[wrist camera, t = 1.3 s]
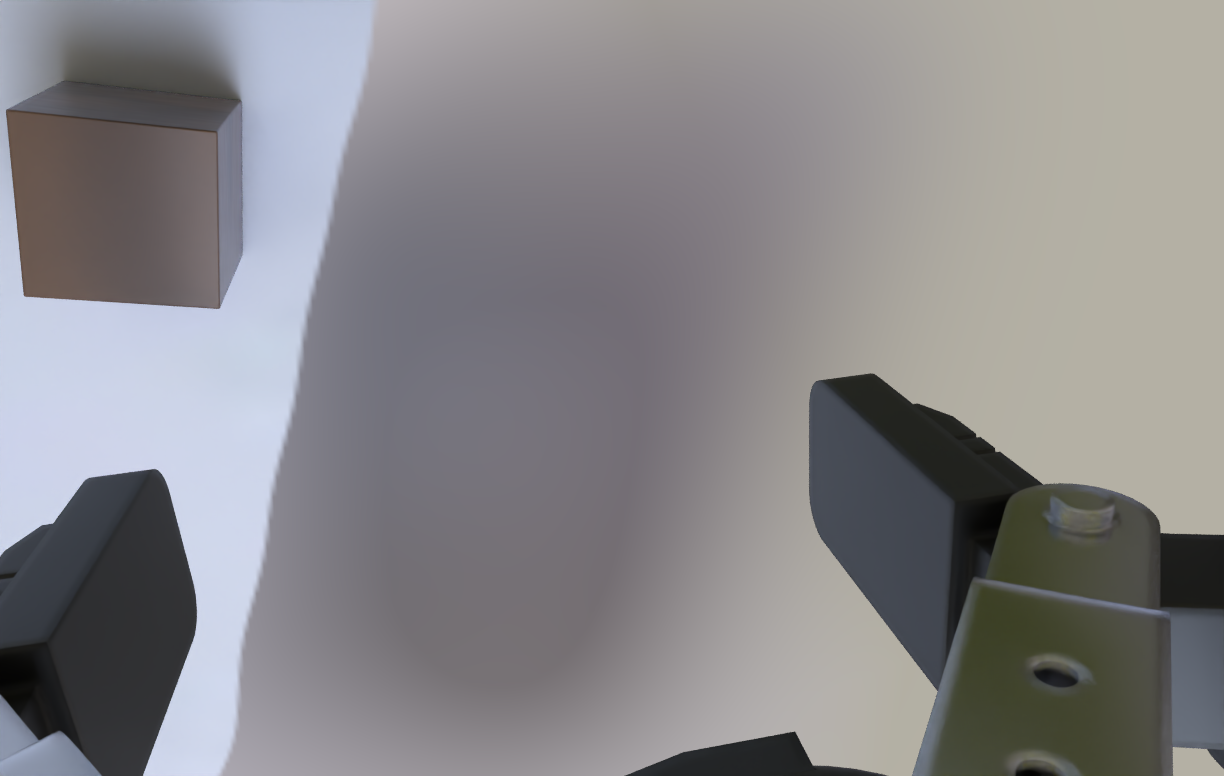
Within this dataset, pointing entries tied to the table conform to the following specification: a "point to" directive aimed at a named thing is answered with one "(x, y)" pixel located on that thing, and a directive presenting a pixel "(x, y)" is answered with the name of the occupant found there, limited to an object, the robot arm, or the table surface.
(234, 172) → the block
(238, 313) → the table surface
